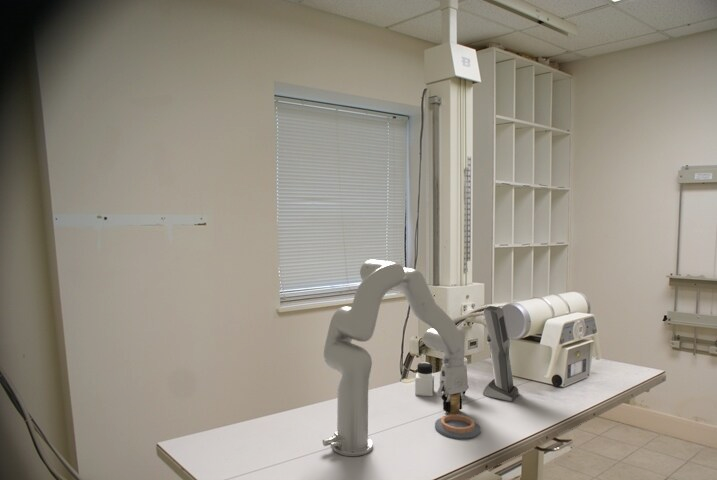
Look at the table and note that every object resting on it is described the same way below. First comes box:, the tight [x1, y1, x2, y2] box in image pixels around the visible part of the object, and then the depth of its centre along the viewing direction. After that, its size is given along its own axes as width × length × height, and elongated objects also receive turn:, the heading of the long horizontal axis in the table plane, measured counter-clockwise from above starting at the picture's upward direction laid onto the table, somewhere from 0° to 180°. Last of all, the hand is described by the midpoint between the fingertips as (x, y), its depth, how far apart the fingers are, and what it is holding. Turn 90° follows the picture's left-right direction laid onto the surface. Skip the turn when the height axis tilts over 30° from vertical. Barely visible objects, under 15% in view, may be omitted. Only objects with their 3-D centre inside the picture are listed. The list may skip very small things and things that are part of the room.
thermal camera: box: [482, 305, 519, 403], centre depth 185 cm, size 12×13×35 cm
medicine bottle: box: [414, 362, 435, 397], centre depth 187 cm, size 7×7×12 cm
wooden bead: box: [445, 393, 460, 415], centre depth 168 cm, size 5×5×7 cm
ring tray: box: [434, 414, 481, 440], centre depth 155 cm, size 15×15×2 cm
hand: (452, 409), depth 168 cm, fingers closed on wooden bead, 4 cm apart
